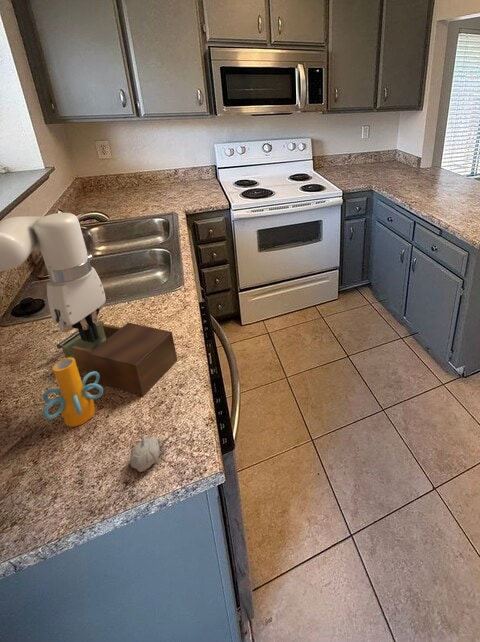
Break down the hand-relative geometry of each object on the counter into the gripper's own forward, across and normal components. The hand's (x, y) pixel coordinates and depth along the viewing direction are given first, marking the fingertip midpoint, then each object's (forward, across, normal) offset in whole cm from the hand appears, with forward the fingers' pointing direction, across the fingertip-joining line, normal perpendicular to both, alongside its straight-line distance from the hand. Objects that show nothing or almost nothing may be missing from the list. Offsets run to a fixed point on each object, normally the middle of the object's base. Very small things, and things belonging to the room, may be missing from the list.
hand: (90, 339), depth 83 cm
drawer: (+15, -8, -10) cm, 20 cm away
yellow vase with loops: (+16, +7, 0) cm, 18 cm away
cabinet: (+16, -8, +3) cm, 18 cm away
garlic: (+16, +12, +22) cm, 30 cm away
